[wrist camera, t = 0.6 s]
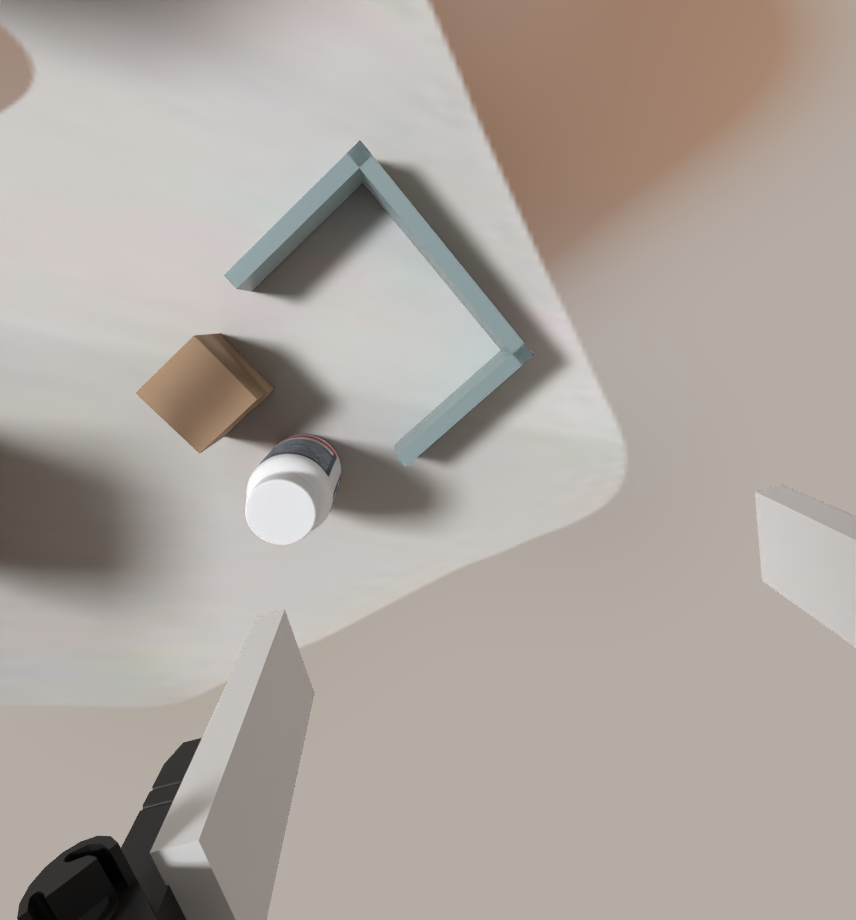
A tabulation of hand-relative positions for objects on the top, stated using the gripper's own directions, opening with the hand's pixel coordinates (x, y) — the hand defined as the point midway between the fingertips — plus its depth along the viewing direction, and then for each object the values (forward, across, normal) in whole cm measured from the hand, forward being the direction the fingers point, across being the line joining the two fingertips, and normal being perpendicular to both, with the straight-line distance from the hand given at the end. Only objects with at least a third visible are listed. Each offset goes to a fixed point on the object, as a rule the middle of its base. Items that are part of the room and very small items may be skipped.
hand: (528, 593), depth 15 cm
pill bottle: (+25, -11, -1) cm, 27 cm away
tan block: (+25, -14, +6) cm, 29 cm away
